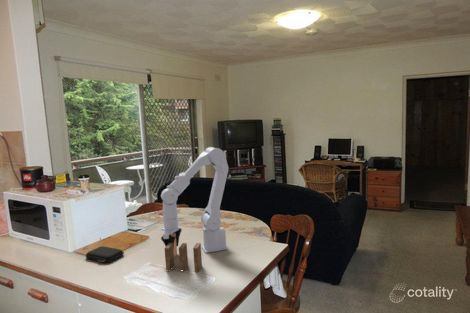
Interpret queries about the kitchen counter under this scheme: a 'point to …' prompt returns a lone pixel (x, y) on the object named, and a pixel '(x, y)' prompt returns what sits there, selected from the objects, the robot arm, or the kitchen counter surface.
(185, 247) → the domino
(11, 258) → the kitchen counter surface
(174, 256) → the end domino
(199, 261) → the domino
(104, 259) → the carrying case or bag
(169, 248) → the domino
